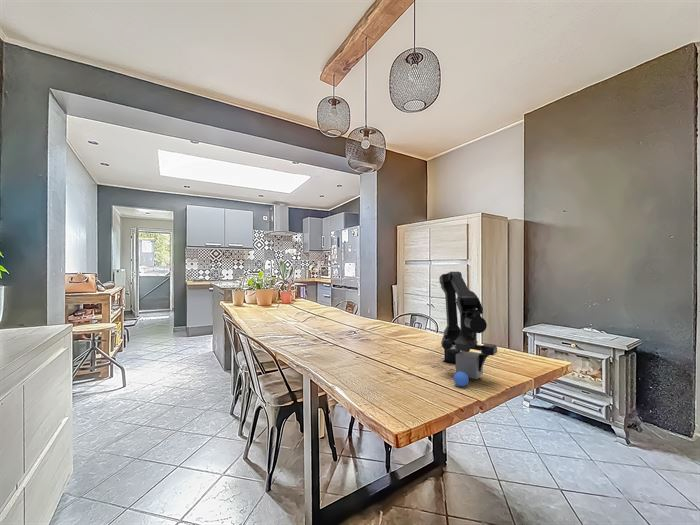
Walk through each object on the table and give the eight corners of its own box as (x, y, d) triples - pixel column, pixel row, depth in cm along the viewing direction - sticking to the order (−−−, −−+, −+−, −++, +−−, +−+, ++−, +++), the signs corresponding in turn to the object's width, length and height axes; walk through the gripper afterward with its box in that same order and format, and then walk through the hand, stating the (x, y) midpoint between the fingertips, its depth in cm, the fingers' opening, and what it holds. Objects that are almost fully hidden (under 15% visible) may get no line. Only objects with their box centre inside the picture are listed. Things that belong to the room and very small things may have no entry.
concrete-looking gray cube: (455, 374, 114) (455, 354, 114) (462, 369, 120) (462, 350, 120) (476, 379, 109) (476, 357, 109) (482, 373, 115) (482, 353, 115)
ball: (455, 367, 110) (456, 380, 111) (451, 374, 106) (452, 387, 107) (469, 370, 107) (471, 383, 108) (465, 377, 103) (467, 390, 104)
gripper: (436, 328, 114) (436, 369, 114) (488, 334, 103) (489, 380, 102) (447, 324, 123) (448, 362, 123) (497, 329, 111) (498, 372, 111)
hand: (469, 369), depth 114 cm, fingers closed on concrete-looking gray cube, 7 cm apart
